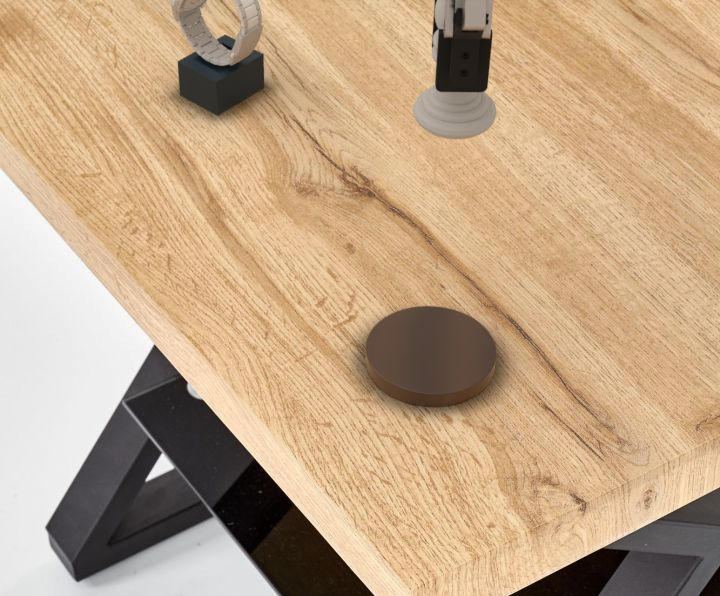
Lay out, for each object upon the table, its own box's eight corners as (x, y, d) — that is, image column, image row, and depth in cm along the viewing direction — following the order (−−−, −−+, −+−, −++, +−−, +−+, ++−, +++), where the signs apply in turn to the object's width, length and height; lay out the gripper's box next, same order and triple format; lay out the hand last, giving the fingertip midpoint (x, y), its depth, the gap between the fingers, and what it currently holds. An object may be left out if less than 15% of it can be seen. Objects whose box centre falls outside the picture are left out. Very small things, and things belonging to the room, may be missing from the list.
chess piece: (401, 100, 102) (408, -27, 95) (479, 88, 103) (491, -39, 96) (427, 148, 99) (436, 20, 92) (507, 135, 100) (521, 7, 93)
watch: (210, 59, 133) (203, -65, 125) (280, 95, 130) (277, -29, 121) (162, 86, 130) (152, -39, 122) (232, 124, 127) (227, -1, 118)
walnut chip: (488, 318, 112) (490, 305, 111) (501, 406, 106) (502, 393, 105) (362, 319, 112) (362, 306, 111) (367, 407, 106) (368, 394, 105)
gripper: (568, -158, 79) (530, 149, 93) (538, -292, 90) (507, 2, 104) (420, -160, 79) (403, 148, 93) (407, -294, 90) (394, 0, 104)
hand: (459, 68), depth 98 cm, fingers closed on chess piece, 3 cm apart
